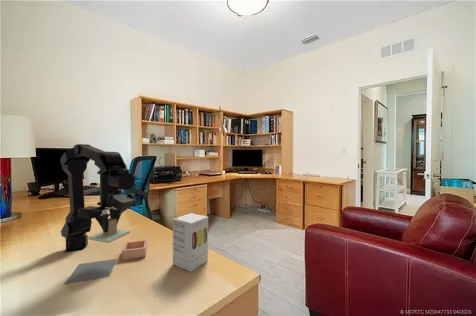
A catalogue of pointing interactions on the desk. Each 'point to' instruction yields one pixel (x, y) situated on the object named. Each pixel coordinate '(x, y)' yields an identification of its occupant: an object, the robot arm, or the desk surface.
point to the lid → (109, 233)
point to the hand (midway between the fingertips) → (110, 230)
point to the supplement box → (190, 241)
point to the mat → (91, 271)
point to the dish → (134, 250)
